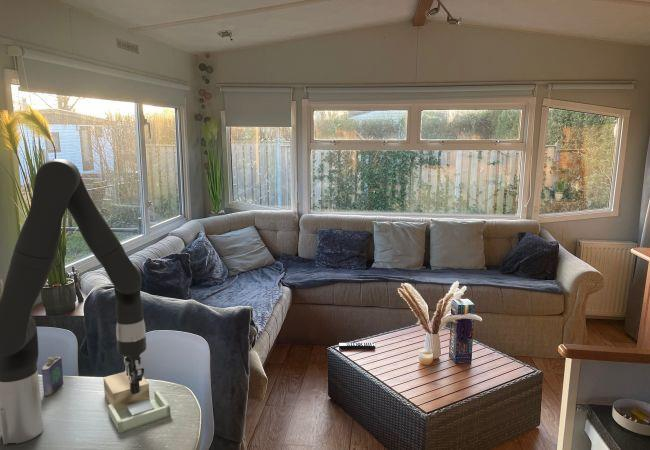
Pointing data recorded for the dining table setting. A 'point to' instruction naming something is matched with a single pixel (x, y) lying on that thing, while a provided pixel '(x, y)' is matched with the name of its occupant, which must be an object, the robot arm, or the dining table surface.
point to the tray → (127, 422)
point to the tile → (139, 407)
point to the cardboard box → (123, 391)
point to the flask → (52, 375)
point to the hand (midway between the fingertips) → (135, 392)
